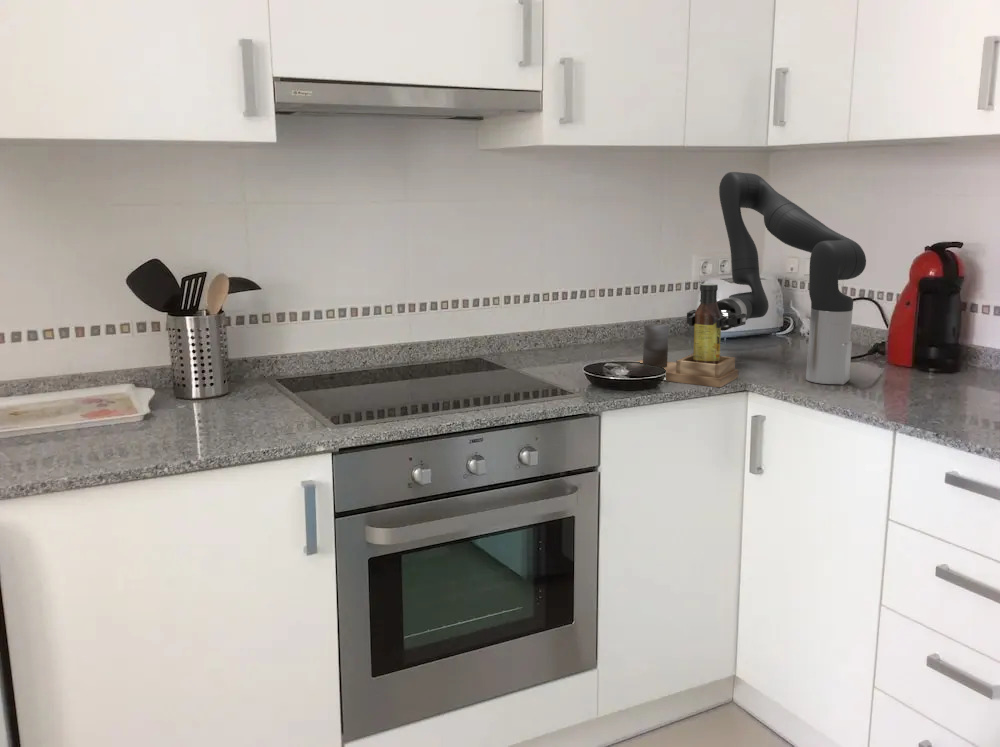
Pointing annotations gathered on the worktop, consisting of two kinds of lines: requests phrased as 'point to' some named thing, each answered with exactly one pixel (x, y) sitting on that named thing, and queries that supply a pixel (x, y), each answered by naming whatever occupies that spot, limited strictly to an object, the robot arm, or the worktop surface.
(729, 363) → the condiment caddy
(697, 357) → the sauce bottle
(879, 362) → the worktop surface
